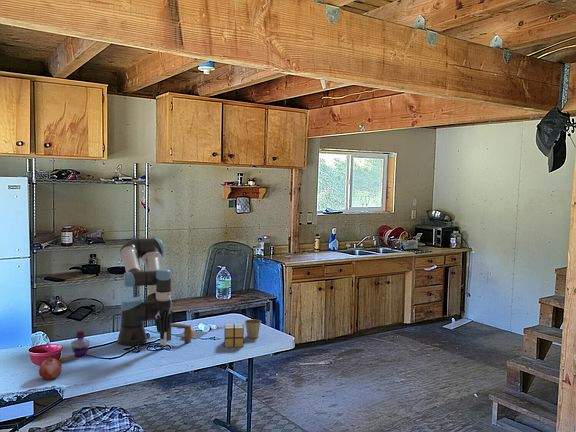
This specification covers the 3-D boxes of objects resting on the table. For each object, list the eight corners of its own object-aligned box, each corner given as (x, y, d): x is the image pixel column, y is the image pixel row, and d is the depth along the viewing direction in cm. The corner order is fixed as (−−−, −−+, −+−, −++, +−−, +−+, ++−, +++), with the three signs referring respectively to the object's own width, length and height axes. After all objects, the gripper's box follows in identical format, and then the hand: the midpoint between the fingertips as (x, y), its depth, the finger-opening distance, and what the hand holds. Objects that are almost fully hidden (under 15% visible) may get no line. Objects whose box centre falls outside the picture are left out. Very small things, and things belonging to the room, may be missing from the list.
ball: (186, 324, 285) (188, 332, 287) (180, 330, 280) (183, 338, 283) (194, 326, 282) (196, 333, 285) (188, 332, 278) (191, 340, 280)
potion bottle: (67, 356, 247) (66, 332, 246) (80, 351, 255) (80, 328, 254) (80, 359, 244) (80, 334, 243) (93, 354, 252) (93, 330, 251)
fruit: (49, 373, 226) (48, 350, 225) (66, 375, 223) (66, 353, 222) (33, 380, 217) (33, 357, 216) (51, 383, 214) (51, 359, 214)
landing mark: (175, 336, 284) (175, 335, 284) (188, 330, 296) (188, 330, 296) (195, 339, 279) (195, 338, 279) (207, 333, 291) (207, 332, 291)
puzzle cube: (224, 341, 275) (224, 323, 275) (243, 341, 277) (243, 323, 276) (224, 347, 266) (224, 328, 265) (243, 347, 267) (243, 328, 266)
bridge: (187, 343, 271) (187, 326, 270) (164, 340, 276) (164, 323, 275) (190, 342, 273) (190, 325, 273) (168, 339, 279) (168, 322, 278)
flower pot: (260, 339, 281) (260, 323, 280) (243, 338, 281) (243, 323, 281) (261, 334, 290) (261, 319, 290) (245, 334, 290) (245, 319, 290)
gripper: (161, 302, 254) (161, 349, 255) (176, 297, 266) (176, 342, 267) (149, 301, 257) (149, 347, 258) (164, 296, 269) (164, 340, 270)
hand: (163, 344), depth 262 cm, fingers closed
